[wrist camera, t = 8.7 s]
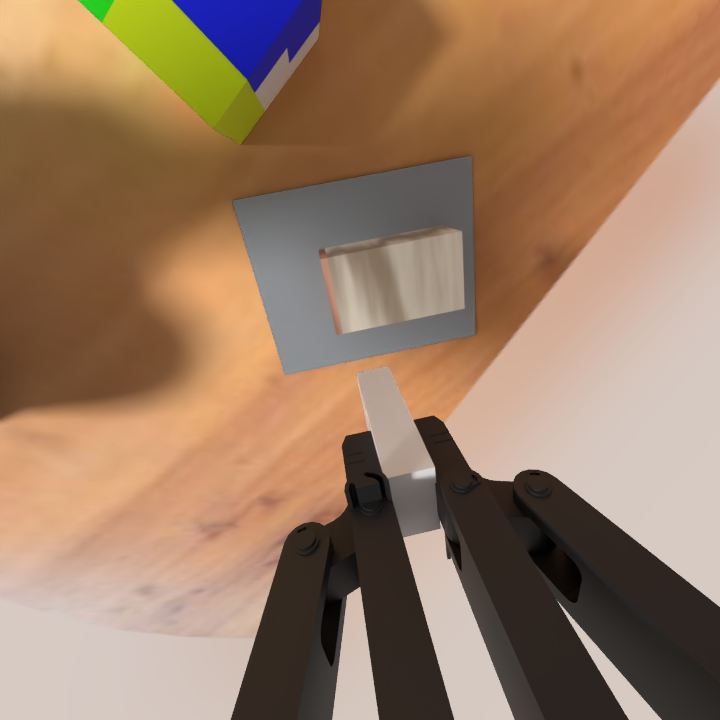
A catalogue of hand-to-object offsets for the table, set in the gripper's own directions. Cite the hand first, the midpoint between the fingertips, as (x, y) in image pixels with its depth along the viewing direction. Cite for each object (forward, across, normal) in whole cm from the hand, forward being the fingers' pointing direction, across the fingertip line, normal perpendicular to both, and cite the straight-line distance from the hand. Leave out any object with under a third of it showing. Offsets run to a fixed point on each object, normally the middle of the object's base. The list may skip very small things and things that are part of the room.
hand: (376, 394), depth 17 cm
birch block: (+19, -1, 0) cm, 19 cm away
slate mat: (+22, +3, 0) cm, 22 cm away
